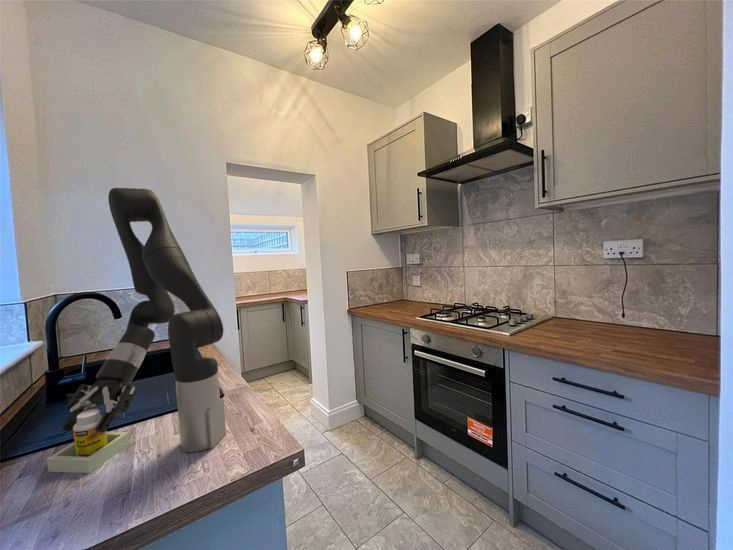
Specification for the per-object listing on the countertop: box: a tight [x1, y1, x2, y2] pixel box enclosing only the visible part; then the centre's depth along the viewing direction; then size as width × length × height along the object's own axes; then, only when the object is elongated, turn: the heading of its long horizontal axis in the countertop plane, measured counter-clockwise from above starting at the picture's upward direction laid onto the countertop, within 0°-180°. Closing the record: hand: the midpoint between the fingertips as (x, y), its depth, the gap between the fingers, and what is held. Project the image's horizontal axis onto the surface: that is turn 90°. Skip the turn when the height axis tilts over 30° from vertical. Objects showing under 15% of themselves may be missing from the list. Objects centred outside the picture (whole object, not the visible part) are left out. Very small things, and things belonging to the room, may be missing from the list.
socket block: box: [46, 431, 130, 474], centre depth 70 cm, size 10×10×3 cm
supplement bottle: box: [72, 408, 108, 457], centre depth 70 cm, size 6×6×10 cm
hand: (82, 431), depth 68 cm, fingers open, 8 cm apart
